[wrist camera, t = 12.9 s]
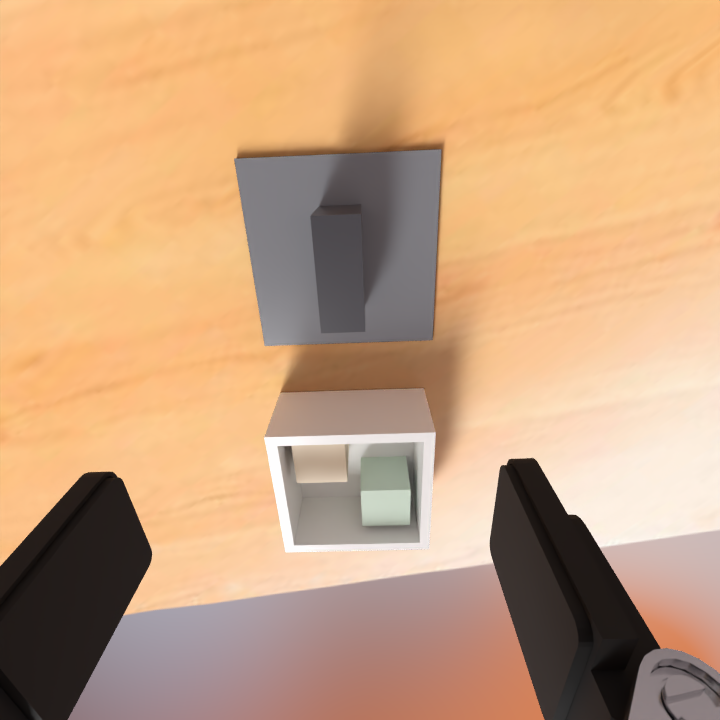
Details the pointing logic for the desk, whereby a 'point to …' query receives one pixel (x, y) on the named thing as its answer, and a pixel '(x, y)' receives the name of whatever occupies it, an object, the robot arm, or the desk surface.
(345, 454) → the birch block
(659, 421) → the desk surface
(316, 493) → the storage box
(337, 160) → the lid
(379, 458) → the sage block
